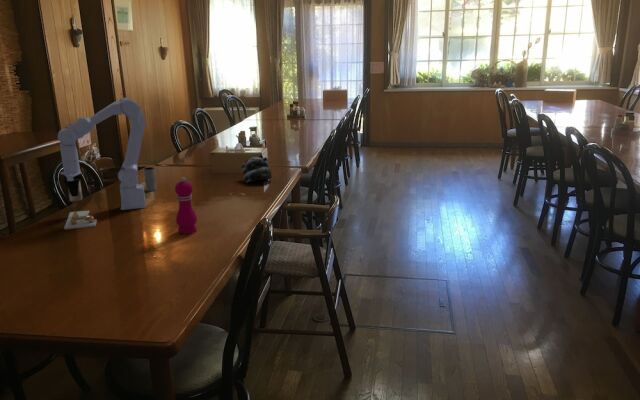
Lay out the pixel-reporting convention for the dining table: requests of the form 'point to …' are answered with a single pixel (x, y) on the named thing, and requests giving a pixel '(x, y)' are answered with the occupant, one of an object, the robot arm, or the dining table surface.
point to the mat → (79, 213)
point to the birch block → (79, 197)
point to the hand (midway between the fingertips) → (75, 194)
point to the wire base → (79, 224)
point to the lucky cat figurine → (256, 169)
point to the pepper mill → (185, 208)
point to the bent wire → (80, 218)
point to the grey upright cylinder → (150, 179)
